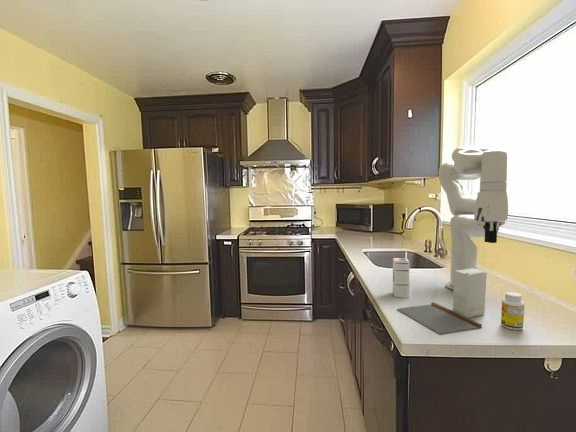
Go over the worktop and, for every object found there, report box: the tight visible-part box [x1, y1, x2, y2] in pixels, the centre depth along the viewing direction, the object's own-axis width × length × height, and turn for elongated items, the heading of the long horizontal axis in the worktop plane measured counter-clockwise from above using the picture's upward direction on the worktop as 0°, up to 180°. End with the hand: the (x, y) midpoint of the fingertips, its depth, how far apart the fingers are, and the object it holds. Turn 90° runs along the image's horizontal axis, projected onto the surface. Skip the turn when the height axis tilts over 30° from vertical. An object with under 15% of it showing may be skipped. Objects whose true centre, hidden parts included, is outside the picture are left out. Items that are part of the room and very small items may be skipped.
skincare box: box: [452, 268, 487, 318], centre depth 106 cm, size 8×6×15 cm
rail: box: [430, 301, 483, 329], centre depth 104 cm, size 1×20×1 cm, turn 17°
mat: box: [396, 304, 479, 335], centre depth 102 cm, size 14×20×1 cm
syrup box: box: [392, 257, 410, 299], centre depth 125 cm, size 6×6×14 cm
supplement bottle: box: [500, 291, 525, 331], centre depth 95 cm, size 6×6×10 cm
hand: (490, 242), depth 106 cm, fingers closed
